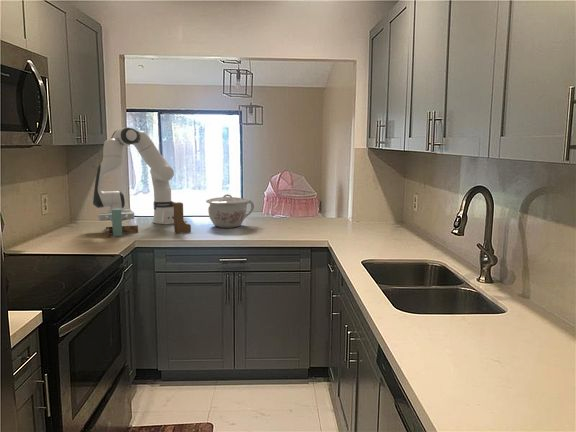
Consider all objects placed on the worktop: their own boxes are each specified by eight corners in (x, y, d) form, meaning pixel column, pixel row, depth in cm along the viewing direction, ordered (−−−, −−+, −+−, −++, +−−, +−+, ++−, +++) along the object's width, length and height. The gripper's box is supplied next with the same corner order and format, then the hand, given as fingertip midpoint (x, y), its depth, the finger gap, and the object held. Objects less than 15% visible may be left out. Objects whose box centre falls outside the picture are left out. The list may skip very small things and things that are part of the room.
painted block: (121, 233, 284) (120, 208, 281) (122, 235, 279) (121, 209, 277) (112, 234, 282) (111, 208, 279) (113, 235, 277) (111, 210, 275)
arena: (137, 231, 292) (137, 225, 291) (139, 235, 280) (139, 229, 279) (106, 233, 285) (105, 227, 284) (106, 237, 273) (106, 230, 272)
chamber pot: (198, 228, 304) (198, 195, 301) (217, 221, 330) (216, 191, 327) (240, 231, 296) (239, 197, 293) (255, 224, 322) (255, 193, 319)
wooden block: (188, 230, 296) (187, 201, 293) (191, 232, 292) (190, 202, 289) (174, 232, 291) (173, 202, 288) (176, 233, 287) (175, 203, 285)
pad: (124, 233, 285) (124, 233, 285) (125, 236, 278) (125, 235, 278) (109, 234, 283) (109, 234, 282) (110, 237, 275) (110, 236, 275)
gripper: (97, 210, 290) (97, 213, 277) (132, 208, 298) (134, 211, 285) (97, 220, 291) (98, 224, 278) (133, 218, 299) (135, 222, 286)
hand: (117, 218), depth 282 cm, fingers open, 8 cm apart
